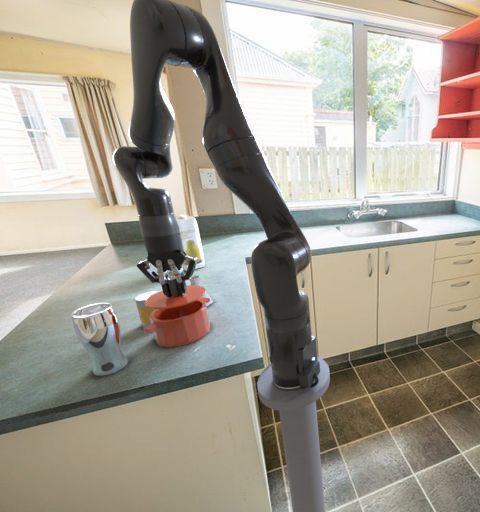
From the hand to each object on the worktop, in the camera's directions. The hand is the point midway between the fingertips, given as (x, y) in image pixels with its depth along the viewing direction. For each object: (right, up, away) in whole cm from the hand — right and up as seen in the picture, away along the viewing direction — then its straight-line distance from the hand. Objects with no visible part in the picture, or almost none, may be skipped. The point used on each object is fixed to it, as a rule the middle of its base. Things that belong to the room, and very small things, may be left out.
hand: (176, 294), depth 79 cm
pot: (0, -11, +4) cm, 12 cm away
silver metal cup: (-8, -16, -10) cm, 20 cm away
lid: (0, -1, 0) cm, 1 cm away
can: (-12, -10, +9) cm, 18 cm away
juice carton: (-31, +5, +54) cm, 62 cm away
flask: (-6, -6, +20) cm, 22 cm away
